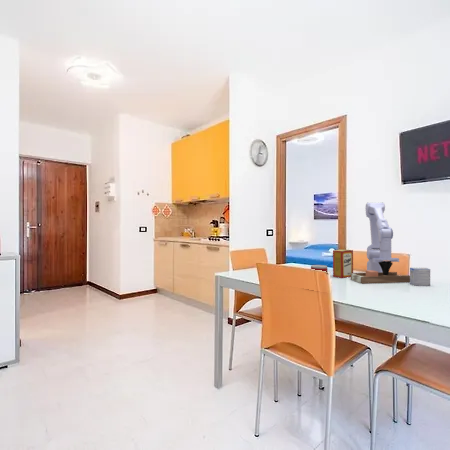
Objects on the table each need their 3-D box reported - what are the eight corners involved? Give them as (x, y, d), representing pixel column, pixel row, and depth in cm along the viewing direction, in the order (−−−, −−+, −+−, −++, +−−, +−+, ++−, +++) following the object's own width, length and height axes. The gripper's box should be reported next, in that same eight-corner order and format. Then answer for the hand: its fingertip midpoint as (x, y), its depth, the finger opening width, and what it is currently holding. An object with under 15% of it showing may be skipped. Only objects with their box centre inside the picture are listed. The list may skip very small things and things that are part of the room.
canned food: (315, 285, 157) (315, 264, 157) (330, 288, 152) (330, 265, 151) (307, 288, 152) (307, 266, 152) (322, 290, 146) (322, 267, 146)
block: (365, 276, 170) (365, 270, 170) (373, 276, 170) (373, 270, 170) (370, 278, 165) (370, 271, 165) (378, 278, 166) (378, 271, 166)
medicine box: (425, 284, 158) (425, 267, 158) (430, 286, 154) (430, 268, 154) (409, 284, 159) (409, 267, 159) (414, 285, 155) (413, 268, 154)
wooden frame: (350, 279, 173) (350, 273, 173) (395, 278, 175) (395, 272, 175) (361, 283, 161) (361, 277, 161) (410, 282, 163) (410, 275, 163)
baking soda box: (342, 278, 177) (341, 250, 177) (333, 276, 182) (332, 249, 182) (353, 276, 181) (353, 249, 181) (344, 275, 187) (343, 248, 187)
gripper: (377, 251, 164) (377, 276, 164) (402, 250, 165) (402, 276, 165) (369, 250, 171) (369, 274, 171) (394, 249, 172) (394, 273, 172)
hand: (385, 275), depth 168 cm, fingers closed
